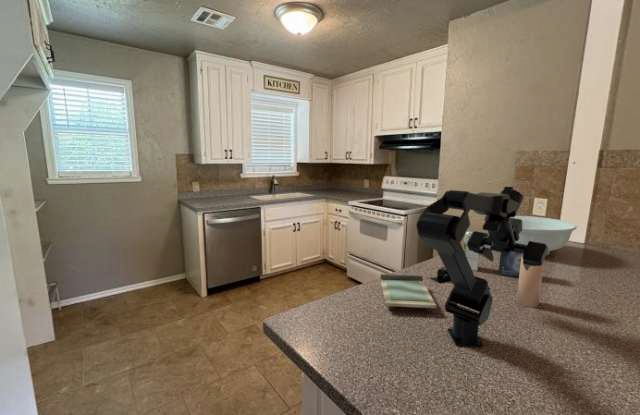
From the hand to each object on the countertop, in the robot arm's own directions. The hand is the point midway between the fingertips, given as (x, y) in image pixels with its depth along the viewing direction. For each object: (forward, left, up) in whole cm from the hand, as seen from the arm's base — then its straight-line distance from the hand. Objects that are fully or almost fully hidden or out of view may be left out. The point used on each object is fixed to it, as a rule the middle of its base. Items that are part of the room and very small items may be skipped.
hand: (509, 264), depth 88 cm
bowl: (+57, -38, -13) cm, 70 cm away
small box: (+26, -16, -13) cm, 33 cm away
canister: (+3, -8, -13) cm, 15 cm away
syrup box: (+32, -2, -13) cm, 34 cm away
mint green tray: (+2, +29, -13) cm, 32 cm away
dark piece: (+19, +12, -14) cm, 27 cm away
